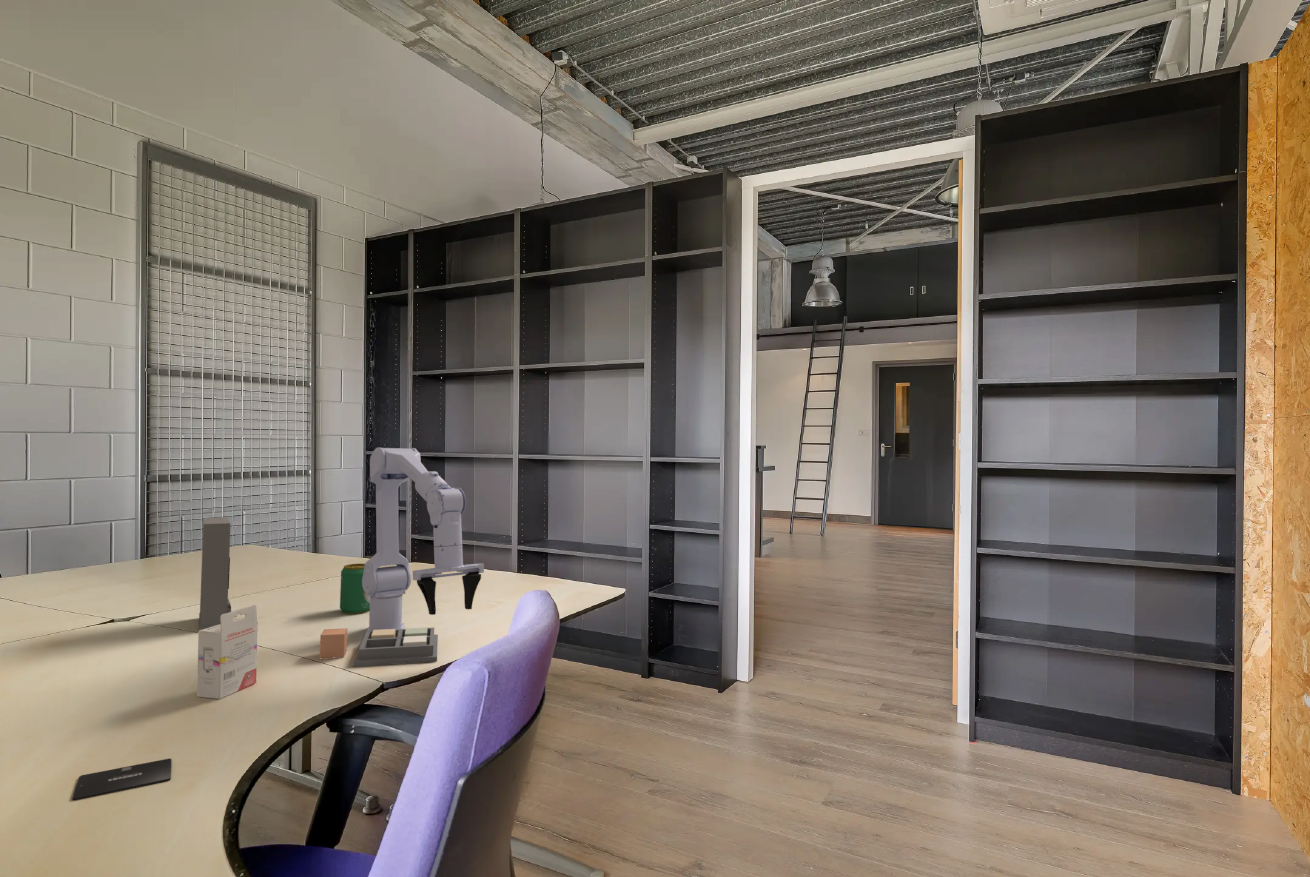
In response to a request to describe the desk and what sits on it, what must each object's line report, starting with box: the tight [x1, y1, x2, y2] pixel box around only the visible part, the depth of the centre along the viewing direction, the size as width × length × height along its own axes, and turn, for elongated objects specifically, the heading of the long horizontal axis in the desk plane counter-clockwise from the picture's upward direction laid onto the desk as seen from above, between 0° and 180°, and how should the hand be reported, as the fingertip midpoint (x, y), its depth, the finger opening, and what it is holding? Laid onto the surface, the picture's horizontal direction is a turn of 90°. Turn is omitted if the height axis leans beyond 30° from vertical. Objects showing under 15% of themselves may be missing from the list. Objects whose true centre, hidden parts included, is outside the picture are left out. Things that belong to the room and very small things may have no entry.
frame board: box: [353, 627, 439, 667], centre depth 148 cm, size 17×16×4 cm
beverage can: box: [339, 563, 370, 615], centre depth 182 cm, size 8×8×12 cm
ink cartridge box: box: [196, 604, 259, 700], centre depth 123 cm, size 9×5×15 cm, turn 168°
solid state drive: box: [71, 758, 172, 801], centre depth 90 cm, size 7×10×1 cm
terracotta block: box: [319, 627, 348, 659], centre depth 144 cm, size 5×5×5 cm
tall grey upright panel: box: [198, 517, 232, 630], centre depth 166 cm, size 14×6×25 cm, turn 34°
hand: (450, 611), depth 142 cm, fingers open, 7 cm apart
